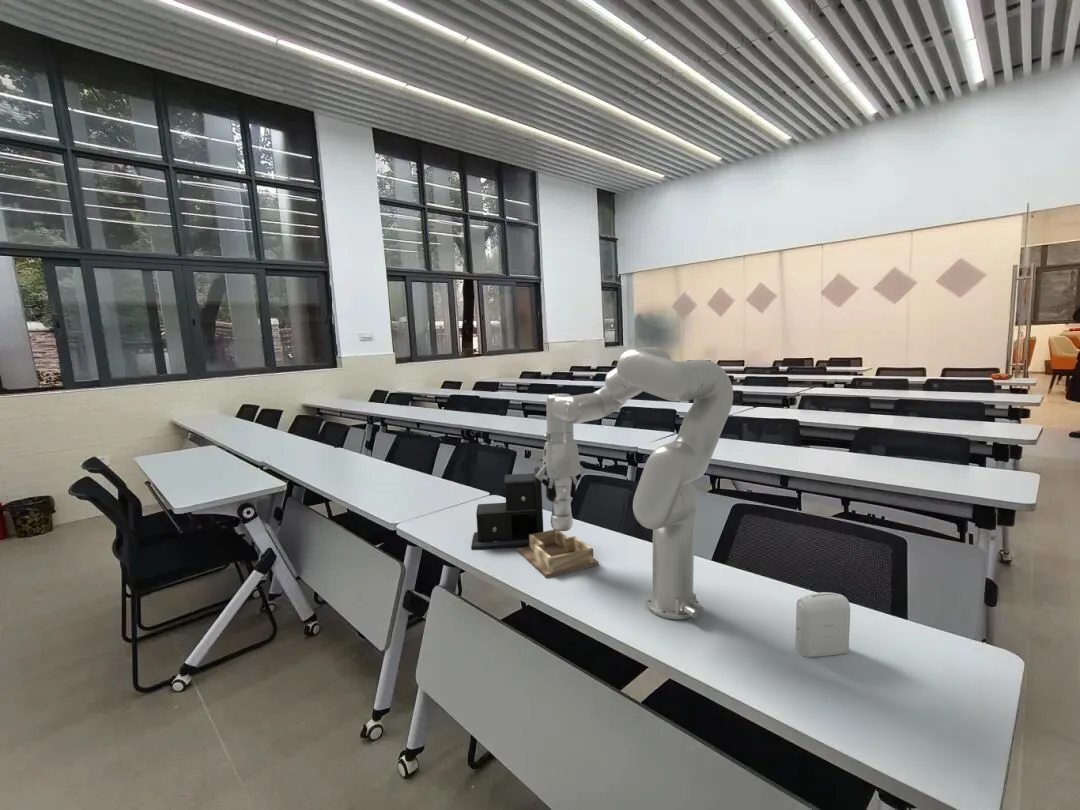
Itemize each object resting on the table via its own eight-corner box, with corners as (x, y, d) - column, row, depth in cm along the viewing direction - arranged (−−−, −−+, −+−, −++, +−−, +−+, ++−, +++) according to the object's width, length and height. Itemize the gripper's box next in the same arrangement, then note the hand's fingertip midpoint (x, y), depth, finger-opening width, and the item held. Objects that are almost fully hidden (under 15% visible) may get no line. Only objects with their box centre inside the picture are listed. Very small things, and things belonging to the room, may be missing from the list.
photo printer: (804, 659, 101) (806, 601, 99) (791, 647, 105) (793, 590, 103) (852, 655, 102) (855, 597, 100) (837, 642, 106) (840, 587, 104)
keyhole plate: (598, 564, 146) (598, 548, 145) (546, 577, 139) (545, 560, 138) (565, 541, 164) (565, 526, 163) (517, 551, 156) (517, 536, 156)
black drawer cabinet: (470, 550, 159) (467, 477, 156) (473, 537, 169) (470, 469, 167) (544, 546, 160) (542, 474, 157) (542, 534, 171) (540, 466, 168)
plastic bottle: (571, 525, 150) (570, 459, 147) (574, 533, 143) (573, 465, 141) (550, 526, 150) (548, 460, 147) (551, 534, 143) (550, 465, 141)
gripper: (538, 442, 136) (539, 507, 138) (593, 436, 143) (593, 497, 146) (527, 438, 143) (528, 499, 145) (580, 432, 150) (580, 490, 152)
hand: (561, 498), depth 145 cm, fingers closed on plastic bottle, 6 cm apart
